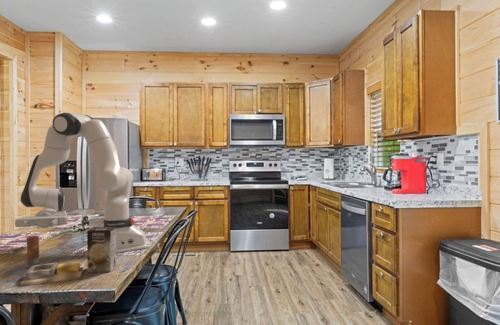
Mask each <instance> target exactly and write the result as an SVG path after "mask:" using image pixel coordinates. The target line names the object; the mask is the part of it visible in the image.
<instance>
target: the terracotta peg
mask: <svg viewBox="0 0 500 325" xmlns="http://www.w3.org/2000/svg"><path fill="white" fill-rule="evenodd" d="M39 239H40V238H39V236H38V235H34V236H28V237H26V263H27V264H26V266H27V267H26V269H27V270H29V268H30V267H31V266H32V265H40V240H39Z"/></svg>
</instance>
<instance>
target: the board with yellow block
mask: <svg viewBox="0 0 500 325" xmlns="http://www.w3.org/2000/svg"><path fill="white" fill-rule="evenodd" d="M84 269H85V263H81V261H79V260H78V261H73V262H63V263H58V262H51V263H50V262H49V263H42V264H39V265H32V266H31V267H30V268H29V269H27V270H26V272H25V277H24V279H23V280H22V281H21V282H20V286H21V287H24V286H25V287H26V286H32V285H33V286H34V285H39V284H40V285H41V284H46V283H55V282H63V281H70V280H77V279H81V276H82V273H83V272H84Z"/></svg>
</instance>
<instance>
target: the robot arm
mask: <svg viewBox="0 0 500 325" xmlns="http://www.w3.org/2000/svg"><path fill="white" fill-rule="evenodd" d="M47 129H48V130H47V132H46V136H45V139H44V147H43V150H42V151H41V153H40V154H37V155H36V156H35V157H34V159H33V161H32V164H31V167H30V170H29V172H28V175H27V178H26V182H25V185H24V188H23V190H22V192H21V194H20V202H21V204H22V205H23V206H24V207H26V208H42V209H41V210H39V211H37V213H36V214H35V215H29V216H28V215H27V216H21V217H20V216H19V217H18V218H15V220H14V226H15V228H26V227H27V228H28V227H38V228H41V229H48V228H53V227H56V226H57V227H58V226H64V225H67V224H68V218H69V217H68V213H67V211H66V210H63V209H64V208H65V206H66V205H65V204H66V194H65V192H64V190H62V189H61V188H51V187H39V186H37V184H38V181H39V177H40V174H41V171H42V170H43V169H45V168H50V167H54V166H58V165H62V164H63V163H65V162H66V161H68V159H69V157H70V153H71V145H72V141H73V138H75V137H78V138H80V137H83V138H84V139H85V141H86V144H87V147H88V149H89V151H90V153H91V155H92V156H91V157H93V161H94V164H95V169H96V179H95V180H96V181H95V182H96V185H97V187H98V188H99V189H100V190H103V191H105V192H107V193H106V198H105V201H104V204H103V209H104V210H103V214H104V216H103V217H104V219H103V222H102V227H116V254H117V253H124V252H130V251H136V250H143V249H149V248H150V247H151V246H152V244H151V241H150V240H148V239H147V235H146V233H145V231H143V230H142V229H141V228H139V227H138V226H135V225H134V224H135V222H136V221H135V219H134V218H132V217H130V196H131V189H132V183H133V181H134V174H133V172H132V171H131V170H130V169H128V168H126V167H124V166H121V165H120V162H119V157H118V156H119V155H118V154H119V152H118V149H117V147H116V144H115V143H114V141H113V138H112V136H111V133H110V131H109V130H108V128H107V126H106V124H104V122H103V121H102V120H100V119H97V118H96V119H95V118H93V117H92V116H90V115H88V114H81V113H78V112H77V113H76V112H61V113H57V114H56V115H55V116H54V117H53V119H52V125H51V126H49V127H48V128H47Z"/></svg>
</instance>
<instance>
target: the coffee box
mask: <svg viewBox="0 0 500 325" xmlns="http://www.w3.org/2000/svg"><path fill="white" fill-rule="evenodd" d="M86 235H87V236H86V239H87V245H86V247H87V254H86V256H87V261H86V262H87V273H107V272H109V273H111V272H112V271H113V270H114V269H115V268H116V267H117V253H116V227H103V226H93V227H91V228H90V229H87V232H86ZM110 271H111V272H110Z"/></svg>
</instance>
